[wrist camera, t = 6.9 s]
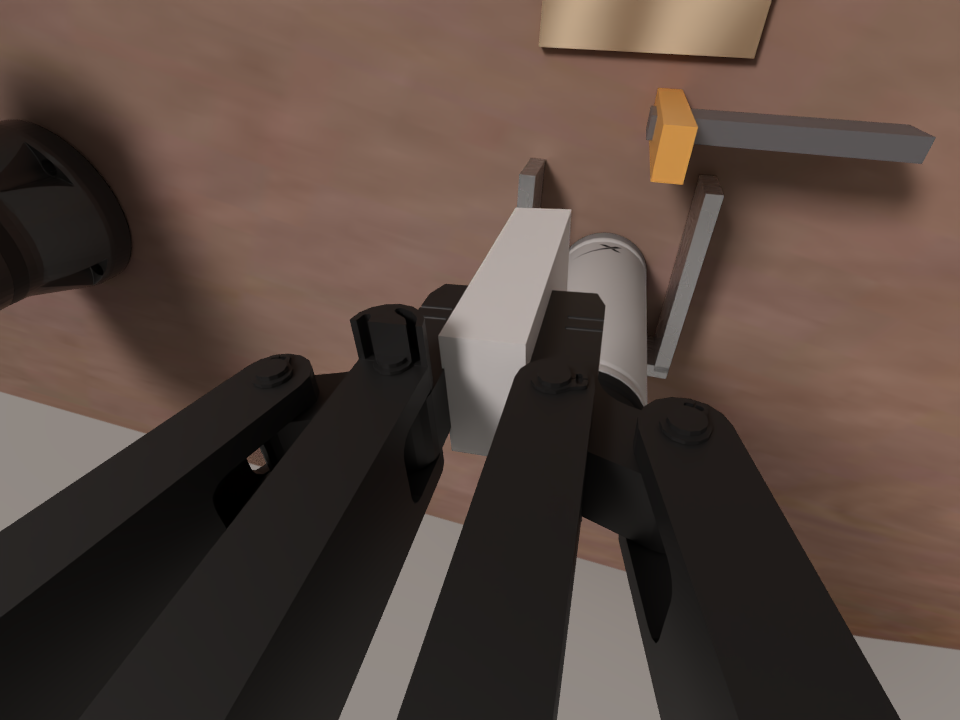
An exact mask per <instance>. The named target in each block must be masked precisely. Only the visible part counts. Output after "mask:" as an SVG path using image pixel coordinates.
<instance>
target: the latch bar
mask: <svg viewBox="0 0 960 720" xmlns="http://www.w3.org/2000/svg"><path fill="white" fill-rule="evenodd" d="M935 138H936V137H934V136H932V135H930V134H928V133H926V132H923V131H921V130H919V129H917V128H915V127H913V126H911V125H906V124H893V123H879V122H866V121H852V120H839V119H825V118H811V117H798V116H784V115H771V114H757V113H744V112H730V111H717V110H703V109H690V107H689V104H688V102H687V99H686V97H685V95H684V92H683V90H682V89H668V88H658V90H657V95H656V100H655V104H654V106H651V108H650V113H649V118H648V122H647V127H646V140H649V149H650V177H651V182H660V183H670V184H679V185H683V182H684V178H685V174H686V171H687V167H688V163H689V159H690V156H691V152H692V148H693V144H699V145H711V146H722V147H734V148H745V149H757V150H768V151H780V152H791V153H803V154H814V155H826V156H837V157H849V158H860V159H872V160H883V161H895V162H906V163H918V164H922V163H923V161H924V159H925V157H926V155H927V153H928V151H929V149H930V148H931V146H932V144H933V142H934V140H935Z"/></svg>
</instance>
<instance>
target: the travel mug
mask: <svg viewBox="0 0 960 720" xmlns="http://www.w3.org/2000/svg"><path fill="white" fill-rule="evenodd" d="M567 291H571V292H584V293H597V294H598V295H599V297H600V298H601V299H602V301H603V302H604V304H605V305H606V307H605V317H604V326H603V336H602V345H601V355H600V364H599V373H598V381H599V383H600V385H601V387H602V388H603V389H604V390H605V391H606V393H607V394H608V395H610V396H611V397H613V398H614V399H616V400H617V401H619V402H621V403H624V404H626V405H628V406H631V407H633V408H636V409H639V410H642V409H643V407H644V406H645V405H647V298H646V263H645V259H644V257H643V255H642V253H641V251H640V250H639V249H638V248H637V246H636V245H635V244H634V243H632V242H631V241H630V240H628V239H626V238H624V237H622V236H620V235H616V234H613V233H595V234H592V235H588V236H586V237H584V238H582V239H580V240H578V241H577V242H575V243H574V244H573V245H572V246H571V247H570V248H569V263H568V282H567Z"/></svg>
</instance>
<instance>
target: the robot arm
mask: <svg viewBox="0 0 960 720" xmlns="http://www.w3.org/2000/svg"><path fill="white" fill-rule="evenodd" d="M570 226H571V209H544V208H515V210H514V211H513V213H512V215H511V216H510V218H509V220H508V221H507V223H506V225H505V226H504V228H503V230H502V231H501V233H500V234H499V236H498V238H497V239H496V241H495V243H494V244H493V246H492V248H491V249H490V251H489V253H488V254H487V256H486V258H485V259H484V261H483V263H482V264H481V266H480V268H479V269H478V271H477V272H476V274H475V276H474V277H473V279H472V281H471V282H470V284H469V286H466V285H452V284H445V285H443V286H441V287H440V288H438V289H437V290H435V291H433V292H432V293H430V294H429V296H428V297H427V298H426V300H425V301H424V303H423V304H422V307H420V308H419V309H418V310H417V309H416V308H414V307H412V306H407V305H402V304H386V305H381V306H376V307H371V308H369V309H367V310H364V311H362V312H359V313H358V314H357V315H355V316H354V317H353V318H351V319H350V323H351V327H352V331H353V335H354V340H355V344H356V348H357V352H358V357H359V360H358V361H357V363H356V364H355V365H354V366H353V368H352V369H351V370H350V371H349V372H343V373H332V374H322V375H314V372H313V369H312V366H311V364H310V361H309V360H308V359H306V358H304V357H303V356H301V355H294V354H281V355H280V354H278V355H272V356H270V357H267V358H264V359H260V360H259V361H257V362H255V363H253V364H251V365H249V366H247V367H246V368H244V369H243V370H241V371H240V372H238V373H237V374H235V375H234V376H232V377H231V378H229V379H228V380H226V381H225V382H223V383H222V384H220V385H219V386H217V387H216V388H214V389H213V390H211V391H210V392H208V393H207V394H205V395H204V396H202V397H201V398H199V399H198V400H196V401H195V402H193V403H192V404H190V405H189V406H187V407H186V408H184V409H183V410H181V411H180V412H178V413H177V414H175V415H174V416H172V417H171V418H169V419H168V420H166V421H165V422H163V423H162V424H160V425H159V426H158V427H156V428H155V429H153V430H152V431H150V432H149V433H147V434H146V435H144V436H143V437H141V438H140V439H138V440H137V441H135V442H134V443H132V444H131V445H129V446H128V447H126V448H125V449H123V450H122V451H120V452H119V453H117V454H116V455H114V456H113V457H111V458H110V459H108V460H107V461H105V462H104V463H102V464H101V465H99V466H98V467H96V468H95V469H93V470H92V471H90V472H89V473H87V474H86V475H84V476H83V477H81V478H80V479H78V480H77V481H76V482H74V483H72V484H71V485H69V486H68V487H66V488H65V489H63V490H62V491H60V492H59V493H57V494H56V495H54V496H53V497H51V498H50V499H48V500H47V501H45V502H44V503H43V504H41V505H40V506H38V507H36V508H35V509H33V510H32V511H30V512H29V513H27V514H26V515H24V516H23V517H22V518H20V519H18V520H17V521H15V522H14V523H13V524H11V525H10V526H8V527H6V528H5V529H3V530H2V531H1V532H0V720H338V719H339V717H340V715H341V712H342V710H343V707H344V705H345V703H346V700H347V698H348V695H349V693H350V691H351V688H352V686H353V684H354V681H355V679H356V676H357V674H358V672H359V669H360V667H361V664H362V662H363V660H364V657H365V655H366V653H367V650H368V648H369V645H370V643H371V641H372V638H373V636H374V633H375V631H376V629H377V626H378V624H379V621H380V619H381V617H382V614H383V612H384V610H385V607H386V605H387V602H388V600H389V598H390V595H391V593H392V591H393V588H394V586H395V583H396V581H397V579H398V576H399V574H400V572H401V569H402V567H403V564H404V562H405V560H406V557H407V555H408V552H409V550H410V548H411V545H412V543H413V540H414V538H415V536H416V533H417V531H418V528H419V526H420V524H421V521H422V519H423V517H424V514H425V512H426V510H427V507H428V505H429V502H430V500H431V498H432V495H433V493H434V490H435V488H436V486H437V483H438V481H439V479H440V476H441V474H442V471H443V466H444V457H443V450H442V447H443V445H444V443H445V440H446V438H447V436H448V434H449V431H450V439H451V447H452V451H458V452H464V453H470V454H477V455H483V456H487V458H486V461H485V464H484V467H483V470H482V473H481V476H480V479H479V482H478V484H477V487H476V490H475V493H474V496H473V499H472V502H471V505H470V508H469V511H468V514H467V516H466V519H465V522H464V525H463V528H462V531H461V534H460V537H459V540H458V543H457V546H456V548H455V552H454V554H453V557H452V560H451V563H450V566H449V569H448V572H447V575H446V577H445V580H444V584H443V586H442V589H441V592H440V595H439V598H438V601H437V604H436V607H435V610H434V612H433V615H432V618H431V621H430V624H429V627H428V630H427V633H426V636H425V639H424V641H423V644H422V647H421V651H420V653H419V656H418V659H417V662H416V665H415V668H414V671H413V674H412V676H411V679H410V682H409V685H408V688H407V691H406V694H405V697H404V700H403V703H402V705H401V708H400V711H399V714H398V718H397V720H557V714H558V705H559V697H560V688H561V681H562V673H563V665H564V656H565V648H566V640H567V630H568V624H569V616H570V607H571V598H572V591H573V583H574V574H575V566H576V558H577V550H578V542H579V534H580V526H581V522H582V517H584V518H586V519H589V520H591V521H593V522H595V523H597V524H599V525H601V526H603V527H605V528H607V529H609V530H611V531H613V532H615V533H617V534H619V543H620V547H621V552H622V556H623V560H624V564H625V569H626V572H627V577H628V581H629V586H630V590H631V594H632V598H633V602H634V607H635V611H636V616H637V619H638V624H639V628H640V632H641V637H642V641H643V645H644V649H645V654H646V658H647V662H648V666H649V671H650V675H651V679H652V683H653V688H654V692H655V696H656V701H657V705H658V709H659V714H660V718H661V720H901V719H900V718H899V716H898V714H897V712H896V711H895V709H894V707H893V705H892V704H891V702H890V700H889V698H888V697H887V695H886V693H885V691H884V690H883V688H882V686H881V684H880V683H879V681H878V679H877V677H876V676H875V674H874V672H873V670H872V669H871V667H870V665H869V663H868V662H867V660H866V658H865V656H864V655H863V653H862V651H861V649H860V648H859V646H858V644H857V642H856V640H855V639H854V637H853V635H852V633H851V632H850V630H849V628H848V626H847V625H846V623H845V621H844V619H843V618H842V616H841V614H840V612H839V611H838V609H837V607H836V605H835V604H834V602H833V600H832V598H831V597H830V595H829V593H828V591H827V590H826V588H825V586H824V584H823V583H822V581H821V579H820V577H819V576H818V574H817V572H816V570H815V569H814V567H813V565H812V563H811V562H810V560H809V558H808V556H807V555H806V553H805V551H804V549H803V548H802V546H801V544H800V542H799V541H798V539H797V537H796V535H795V534H794V532H793V530H792V528H791V527H790V525H789V523H788V521H787V520H786V518H785V516H784V514H783V513H782V511H781V509H780V507H779V506H778V504H777V502H776V500H775V499H774V497H773V495H772V493H771V492H770V490H769V488H768V486H767V485H766V483H765V481H764V479H763V478H762V476H761V474H760V472H759V471H758V469H757V467H756V465H755V464H754V462H753V460H752V458H751V457H750V455H749V453H748V451H747V450H746V448H745V446H744V444H743V443H742V441H741V439H740V437H739V436H738V434H737V432H736V430H735V429H734V427H733V425H732V424H731V423H730V422H729V421H728V420H727V418H726V417H725V416H724V415H723V414H722V413H720V412H719V411H717V410H715V409H714V408H712V407H711V406H709V405H707V404H704V403H701V402H698V401H695V400H692V399H686V398H676V397H670V398H664V399H657V400H655V401H653V402H651V403H649V404H647V405H645V406H644V407H643V409H642V410H639V409H636V408H633V407H631V406H628V405H626V404H624V403H621V402H619V401H617V400H616V399H614V398H613V397H611V396H610V395H608V394H607V393H606V391H605V390H604V389H603V388H602V387H601V385H600V383H599V381H598V373H599V364H600V355H601V345H602V336H603V326H604V317H605V307H606V305H605V304H604V302H603V301H602V299H601V298H600V297H599V295H598V294H597V293H584V292H571V291H567V282H568V263H569V244H570ZM130 254H131V239H130V233H129V229H128V225H127V222H126V219H125V217H124V214H123V212H122V210H121V208H120V206H119V204H118V202H117V200H116V198H115V196H114V195H113V193H112V191H111V190H110V188H109V187H108V185H107V184H106V183H105V181H104V180H103V179H102V177H101V176H100V175H99V174H98V172H97V171H96V170H95V169H94V168H93V167H92V165H91V164H90V163H89V162H88V161H87V160H86V159H85V158H84V157H83V156H82V155H81V154H80V153H78V152H77V151H76V150H75V149H74V148H73V147H72V146H70V145H69V144H68V143H66V142H65V141H64V140H62V139H61V138H59V137H58V136H56V135H55V134H53V133H52V132H50V131H48V130H46V129H44V128H42V127H40V126H38V125H35V124H32V123H29V122H26V121H21V120H4V121H0V310H2V309H4V308H6V307H7V306H9V305H11V304H13V303H16V302H18V301H20V300H22V299H24V298H26V297H29V296H34V295H40V294H46V293H53V292H59V291H65V290H71V289H78V288H84V287H90V286H94V285H97V284H100V283H102V282H104V281H106V280H108V279H110V278H112V277H114V276H115V275H117V274H119V273H120V272H122V271H123V270H124V268H125V267H126V266H127V264H128V262H129V259H130ZM259 447H260V449H261V452H262V454H263V456H264V459H265V461H266V464H265V465H264V466H262V467H260V468H259V469H257V470H252V469H251V467H250V465H249V463H248V461H247V459H246V458H247V457H248V456H250V455H251V454H252V453H253V452H255V451H256V450H257V449H258V448H259Z"/></svg>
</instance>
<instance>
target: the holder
mask: <svg viewBox="0 0 960 720" xmlns="http://www.w3.org/2000/svg"><path fill="white" fill-rule="evenodd" d="M544 168H545V159H537V158H531V159H530V160H529V161H528V163H527V164H526V166H525V167H524V168H523V170H522V171H521V173H520V174H519V188H518V202H517V208H541V198H542V188H543V178H544ZM723 198H724V194H723V191H722V189H721V187H720V184H719V182H718V179H717V177H716V176H710V175H700V176H699V179H698V183H697V186H696V190H695V193H694V197H693V200H692V204H691V208H690V211H689V215H688V218H687V222H686V225H685V229H684V232H683V236H682V239H681V243H680V246H679V250H678V254H677V257H676V261H675V264H674V268H673V271H672V275H671V278H670V282H669V285H668V289H667V293H666V296H665V300H664V303H663V307H662V310H661V314H660V317H659V321H658V324H657V328H656V331H655V335H654V336H648V335H647V376H652V377H658V378H663V379H666V377H667V374H668V370H669V367H670V364H671V361H672V358H673V355H674V352H675V348H676V345H677V342H678V339H679V336H680V333H681V330H682V326H683V323H684V320H685V317H686V314H687V311H688V308H689V304H690V301H691V298H692V295H693V292H694V289H695V286H696V282H697V279H698V276H699V273H700V270H701V267H702V264H703V261H704V257H705V254H706V251H707V248H708V245H709V242H710V239H711V235H712V232H713V229H714V226H715V223H716V220H717V217H718V213H719V210H720V207H721V204H722V201H723Z"/></svg>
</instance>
